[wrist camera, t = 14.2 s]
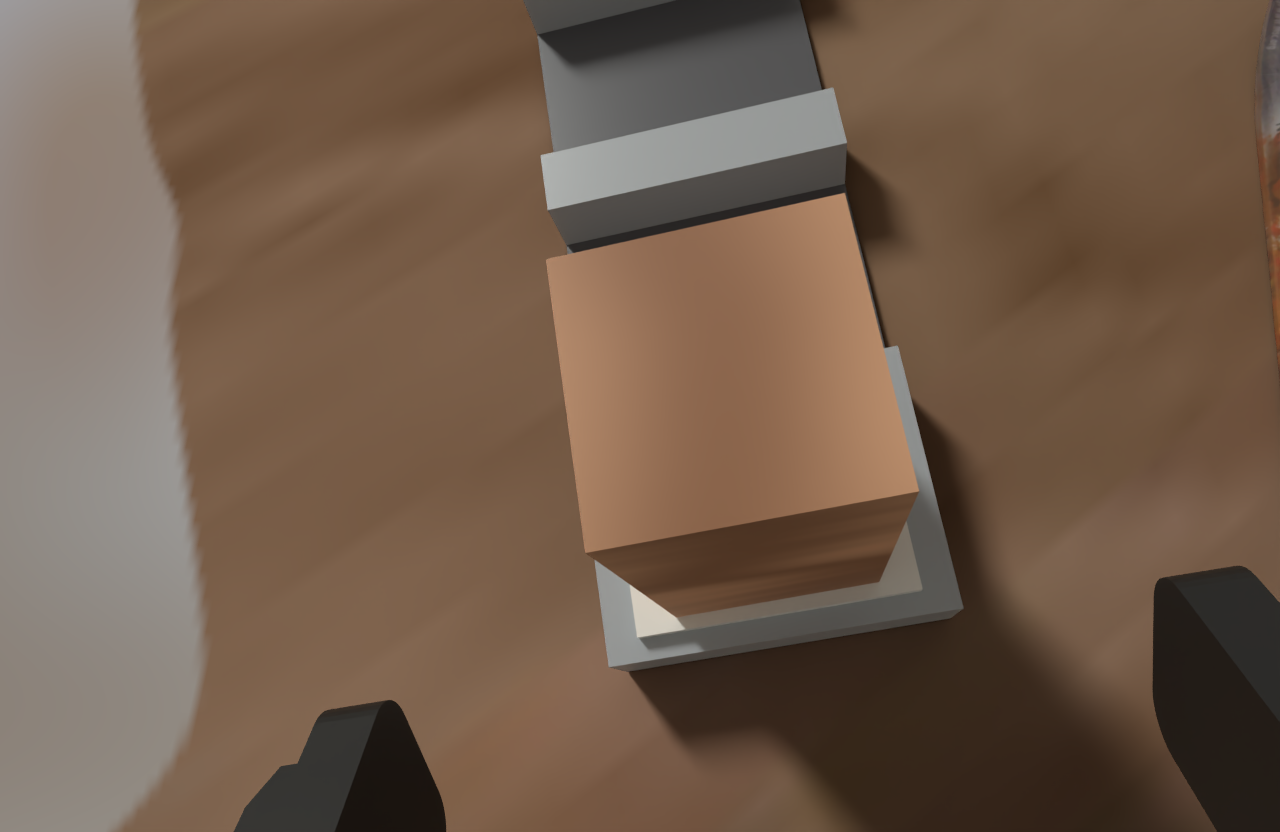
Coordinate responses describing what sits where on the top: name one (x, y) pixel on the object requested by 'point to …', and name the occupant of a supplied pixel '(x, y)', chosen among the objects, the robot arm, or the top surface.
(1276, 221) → the tin
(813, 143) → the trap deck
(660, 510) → the block
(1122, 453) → the top surface
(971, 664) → the top surface
